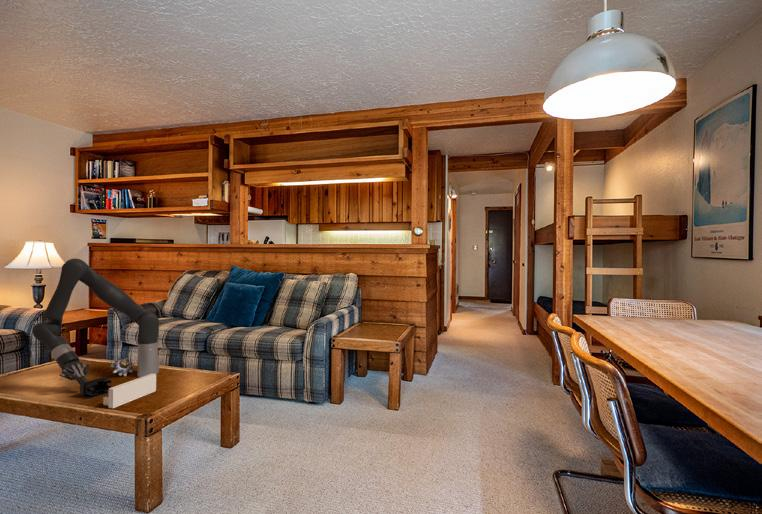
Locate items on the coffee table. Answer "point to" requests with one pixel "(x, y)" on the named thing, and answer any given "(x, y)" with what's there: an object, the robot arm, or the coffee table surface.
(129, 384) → the white board with feet
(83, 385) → the end cap
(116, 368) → the passion flower
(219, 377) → the coffee table surface
